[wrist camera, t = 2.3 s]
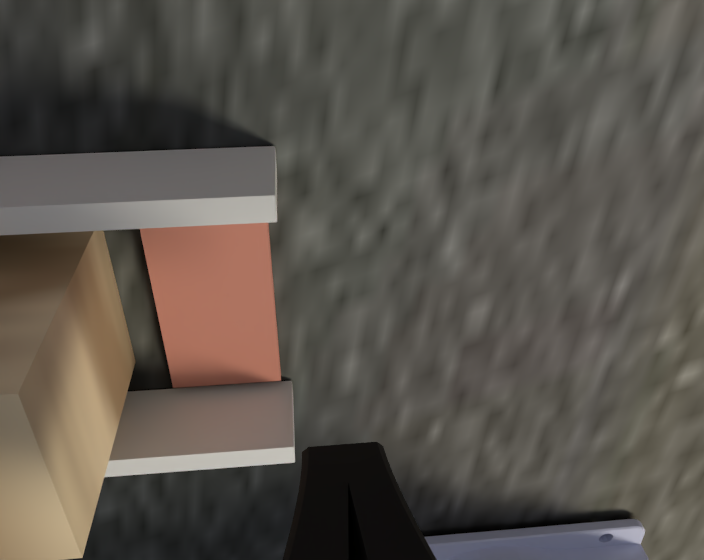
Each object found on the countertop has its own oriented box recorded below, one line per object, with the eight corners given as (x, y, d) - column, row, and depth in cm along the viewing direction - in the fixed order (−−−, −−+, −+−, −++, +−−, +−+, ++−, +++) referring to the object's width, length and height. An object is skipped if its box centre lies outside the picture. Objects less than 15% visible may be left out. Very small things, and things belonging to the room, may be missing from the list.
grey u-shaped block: (275, 146, 15) (275, 195, 13) (292, 396, 19) (294, 462, 17) (-341, 169, 14) (-449, 227, 12) (-175, 427, 18) (-232, 503, 16)
